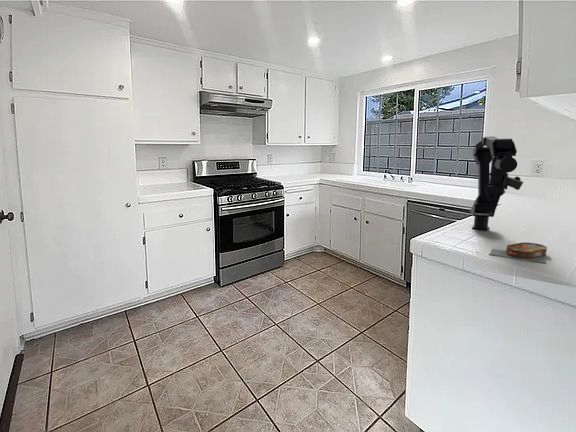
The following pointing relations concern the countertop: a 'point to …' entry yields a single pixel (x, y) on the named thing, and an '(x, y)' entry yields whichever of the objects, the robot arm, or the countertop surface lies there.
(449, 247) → the countertop surface
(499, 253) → the mat
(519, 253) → the tin
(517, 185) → the robot arm
